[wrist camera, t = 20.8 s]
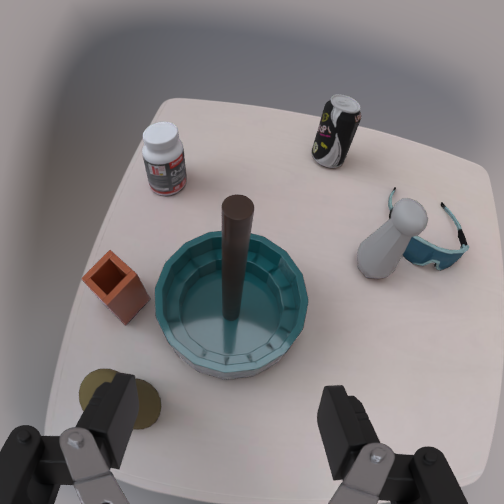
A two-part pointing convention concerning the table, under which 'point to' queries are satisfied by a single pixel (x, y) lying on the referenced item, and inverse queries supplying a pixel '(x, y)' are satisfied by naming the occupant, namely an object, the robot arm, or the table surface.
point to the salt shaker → (391, 239)
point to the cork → (146, 391)
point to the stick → (235, 251)
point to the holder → (117, 287)
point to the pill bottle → (164, 158)
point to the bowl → (210, 307)
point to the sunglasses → (432, 247)
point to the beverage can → (336, 130)
